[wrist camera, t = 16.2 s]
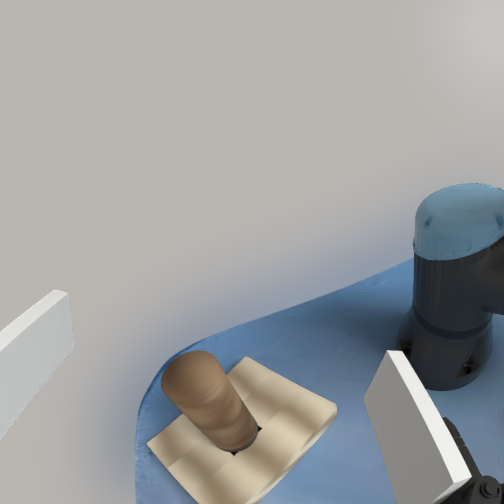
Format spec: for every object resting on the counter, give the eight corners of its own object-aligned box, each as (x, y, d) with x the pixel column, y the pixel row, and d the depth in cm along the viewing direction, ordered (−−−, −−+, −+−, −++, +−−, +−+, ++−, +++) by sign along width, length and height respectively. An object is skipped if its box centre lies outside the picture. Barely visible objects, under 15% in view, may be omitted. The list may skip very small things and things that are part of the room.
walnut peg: (241, 413, 37) (194, 342, 29) (273, 435, 32) (232, 368, 25) (210, 441, 33) (151, 378, 26) (240, 467, 29) (183, 412, 22)
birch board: (251, 367, 44) (246, 355, 43) (337, 414, 33) (335, 404, 31) (157, 451, 34) (146, 443, 32) (229, 526, 22) (220, 523, 21)
